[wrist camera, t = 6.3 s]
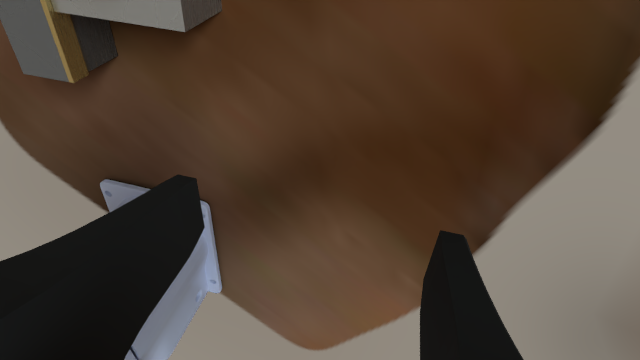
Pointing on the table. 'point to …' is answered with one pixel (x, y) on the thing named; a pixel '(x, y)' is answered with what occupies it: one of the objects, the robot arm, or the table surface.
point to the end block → (56, 40)
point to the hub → (144, 11)
